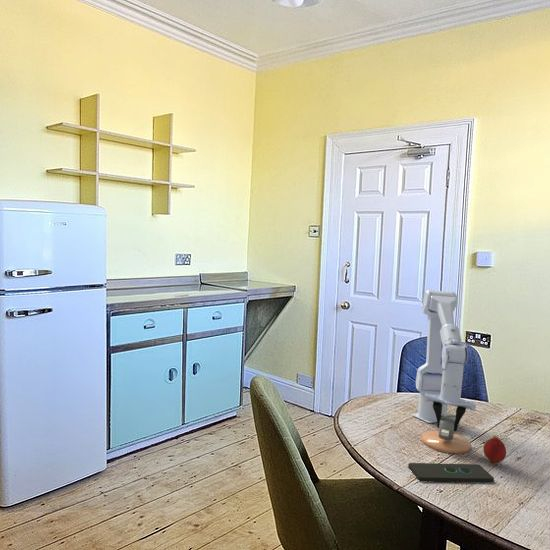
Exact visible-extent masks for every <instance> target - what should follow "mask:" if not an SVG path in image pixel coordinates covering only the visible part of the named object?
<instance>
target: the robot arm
mask: <svg viewBox="0 0 550 550" xmlns="http://www.w3.org/2000/svg"><path fill="white" fill-rule="evenodd" d="M457 305H458V295H457V293H456V292H455V291H445V290H444V291H443V290H431V289H426V291H425V292H424V295H423V303H422V310H423V314H425V315H426V316H427V336H426V337H427V339H426V340H427V341H426V358H425V360H426V361H425V363H424V364H422V365H421V366H420V367H418V368H417V371H416V375H415V388H416V390H417V392H418V391H419V396H418V397H419V398H418V405H417V406H418V408H417V412H416V413H412V414H411V416H413V417H415V418H417V419H419V420H421V421H423V422H425V423H428V424H432V423H436V424H437V428H438V429H439V426H440V419H441V416H442V414H443V413H448V406H451V407H456V409H455V415H456V420H455V426H454V431H455V432H456V433H457V432H458V431H457V430H458V426H459V424H460V422H461V420H462V418H463V417H464V415H465V413H466V411H467V410H471V411H473V412H475V411H476V408H477V402H474V401H469V400H466V399H462V398H461V395H462V388H463V386H462V385H463V377H464V366H465V365H467V362H468V359H469V350H468V347H467V346H468V345H466V344H465V342H463V340H462V337H461V336H462V335H461V332H460V328H459V327H458V326H457V325H455V321H454V320H455V318H454V312H455V309H456V307H457Z"/></svg>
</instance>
